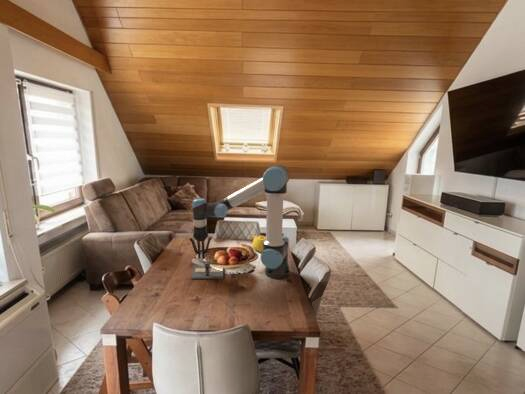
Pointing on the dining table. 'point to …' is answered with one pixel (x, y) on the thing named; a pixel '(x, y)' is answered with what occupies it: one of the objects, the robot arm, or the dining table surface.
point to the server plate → (206, 273)
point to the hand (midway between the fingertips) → (201, 264)
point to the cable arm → (201, 263)
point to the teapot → (258, 243)
